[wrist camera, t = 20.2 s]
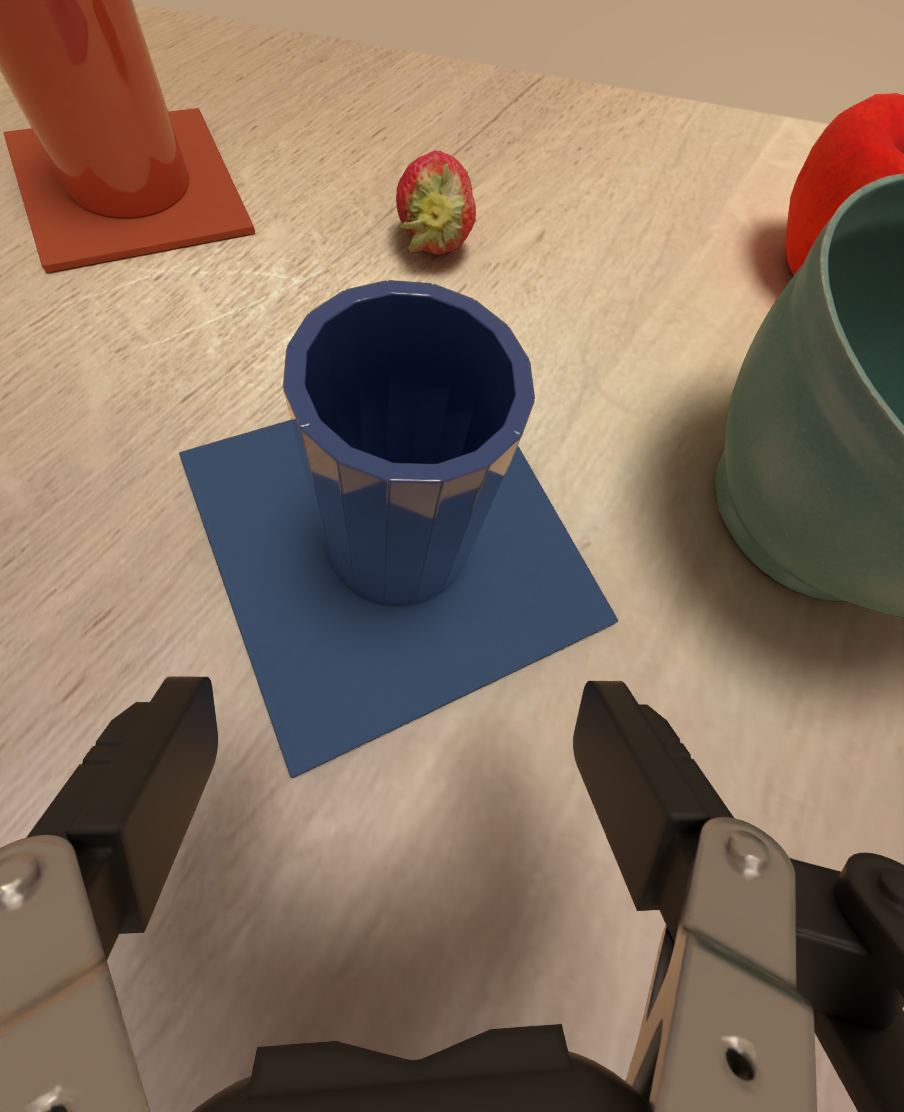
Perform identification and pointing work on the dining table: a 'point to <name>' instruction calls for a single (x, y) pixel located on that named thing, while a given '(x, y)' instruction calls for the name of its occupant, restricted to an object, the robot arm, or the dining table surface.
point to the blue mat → (371, 628)
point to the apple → (844, 167)
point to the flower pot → (827, 416)
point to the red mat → (95, 238)
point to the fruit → (436, 203)
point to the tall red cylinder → (94, 102)
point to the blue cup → (404, 430)
